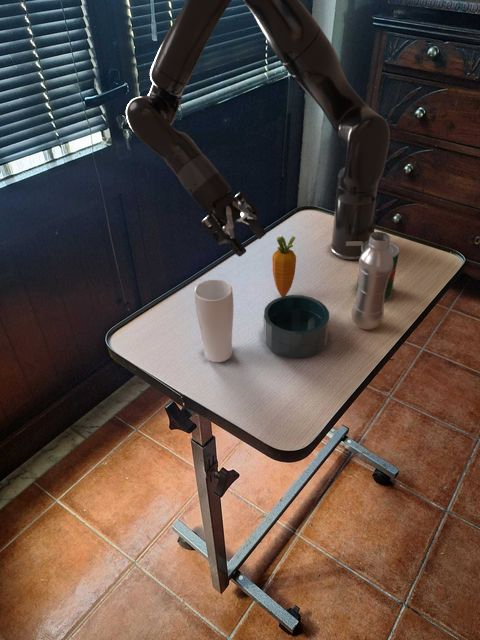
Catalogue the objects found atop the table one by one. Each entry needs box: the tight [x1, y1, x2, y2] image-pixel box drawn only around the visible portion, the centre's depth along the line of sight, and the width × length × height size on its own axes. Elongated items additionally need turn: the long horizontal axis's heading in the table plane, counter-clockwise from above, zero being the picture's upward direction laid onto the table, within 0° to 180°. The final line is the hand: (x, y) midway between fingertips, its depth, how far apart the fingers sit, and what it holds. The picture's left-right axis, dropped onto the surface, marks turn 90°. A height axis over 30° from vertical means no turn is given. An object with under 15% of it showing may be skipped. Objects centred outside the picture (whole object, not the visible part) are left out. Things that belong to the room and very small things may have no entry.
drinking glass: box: [193, 279, 235, 363], centre depth 95 cm, size 7×7×15 cm
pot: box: [263, 294, 330, 359], centre depth 101 cm, size 13×13×6 cm
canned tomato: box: [355, 241, 400, 302], centre depth 112 cm, size 8×8×11 cm
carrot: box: [271, 236, 297, 297], centre depth 109 cm, size 5×5×15 cm
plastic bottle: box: [351, 231, 393, 330], centre depth 100 cm, size 6×7×20 cm
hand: (253, 245), depth 110 cm, fingers open, 8 cm apart
